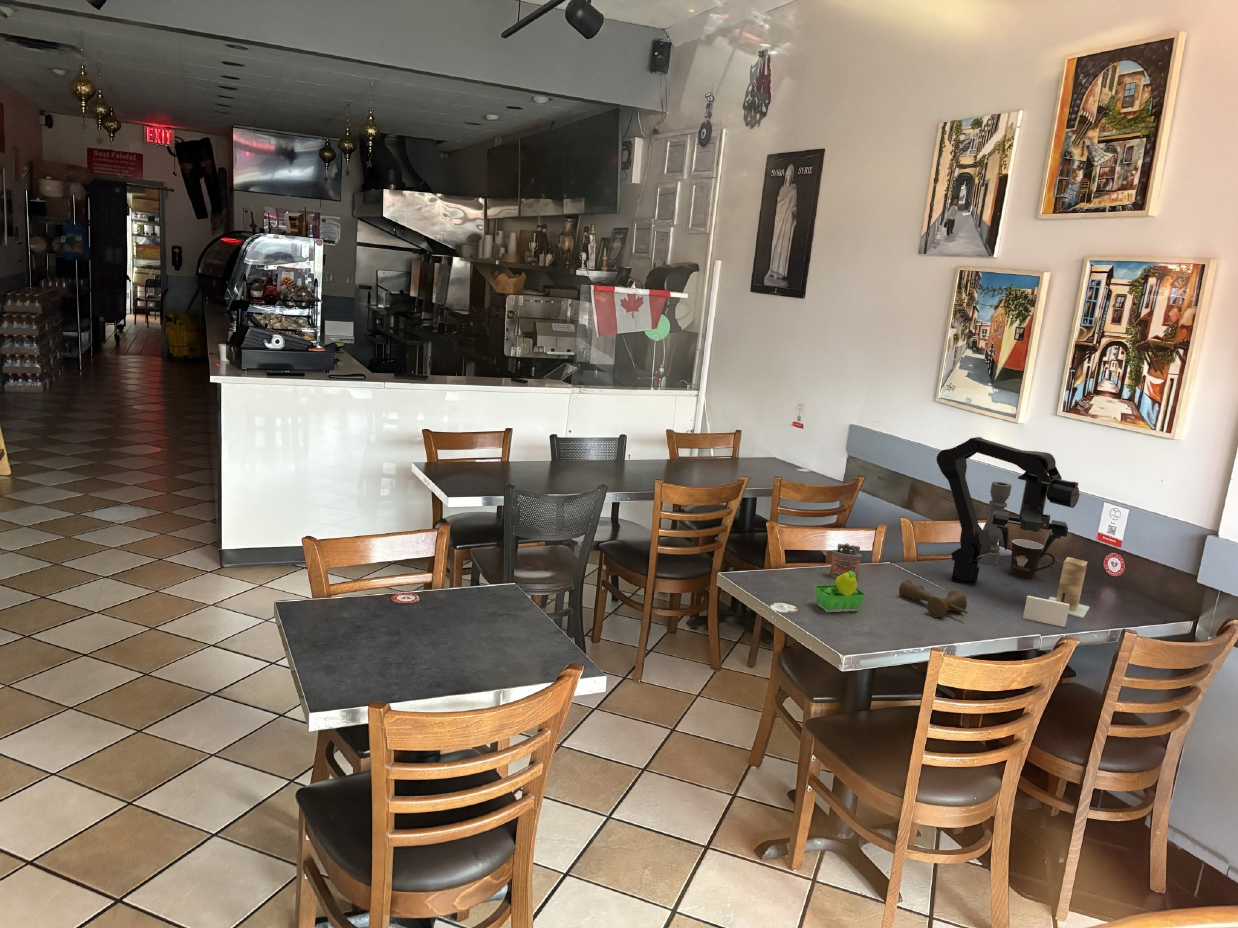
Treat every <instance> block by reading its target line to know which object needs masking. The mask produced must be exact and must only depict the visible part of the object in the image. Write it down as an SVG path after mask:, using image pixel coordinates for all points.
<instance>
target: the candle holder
mask: <svg viewBox="0 0 1238 928" xmlns="http://www.w3.org/2000/svg"><path fill="white" fill-rule="evenodd" d="M1011 491H1012V484H1011V483H1006V482H1001V481H992V482H991V487H990V496H991V499H990V500H989V501H988V503H989V504H988V505H989V506H990V509H989V515H988V517H987V519H986V522H985V524H984V525H983V528H982V530H983V531H984V530H988V532H989V538H990V540H991V541H992V543H991V544H990V545H991V549H990V551H989V552H988V553H987V554H986V555H984V556H983V557H982V558H981V560H978V563H979V562H980V563H982V564H984V565H990V566H996V565H998V564H999V560H1000V559H999V558H1000V554H1001V553H1000V549H1001V548H1000V546H999V543H1000V541H1001V540H1002V539H1003V535H1002V532H1001V529H1000V528H997V527H996V526H997V525H995V524H992V518H993V513H994V512H995V511H996V510H997V511H1003V512H1005V509H1006V508H1007V506H1008V503H1006V502H1007V500H1009V497H1010V496H1011Z"/></svg>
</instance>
